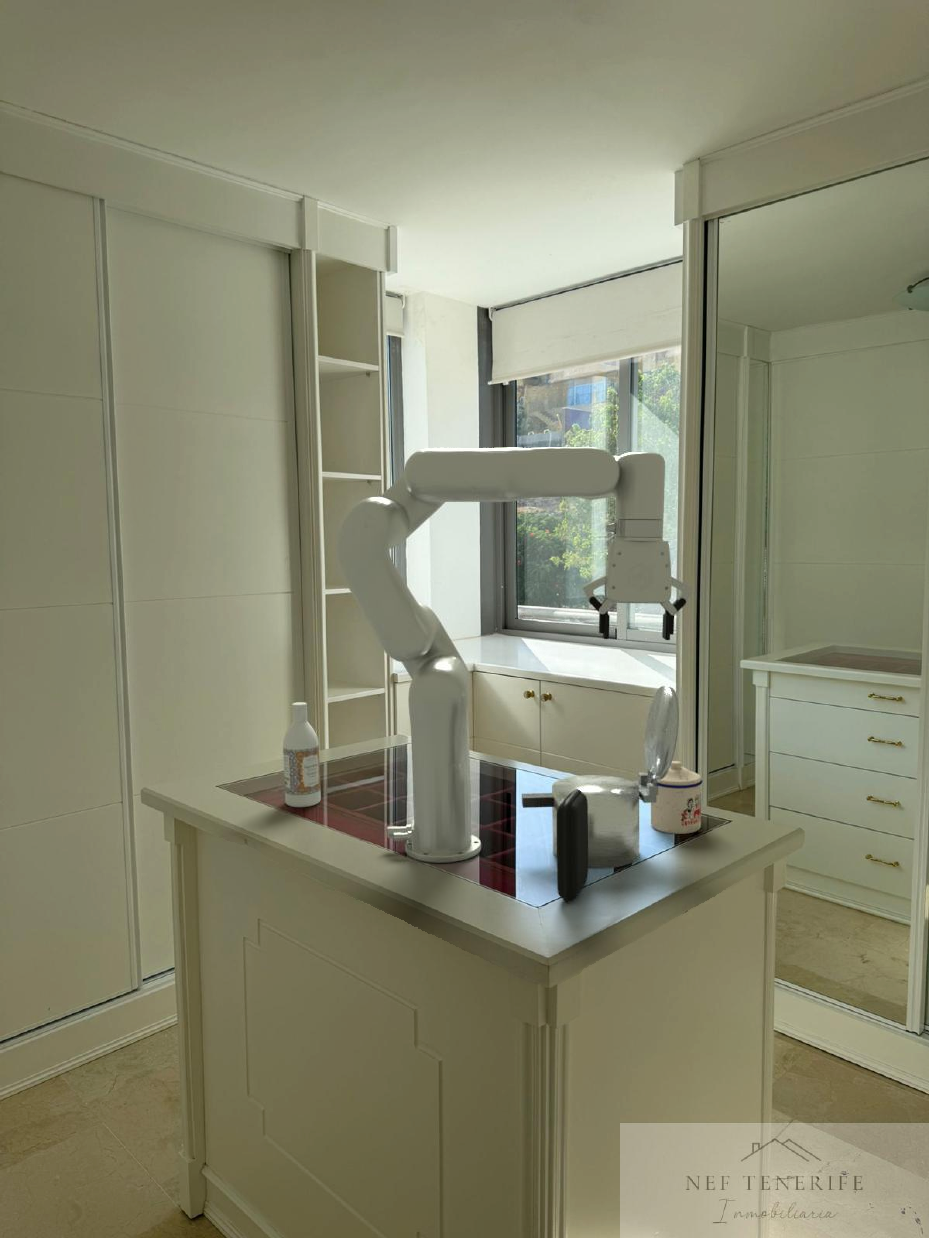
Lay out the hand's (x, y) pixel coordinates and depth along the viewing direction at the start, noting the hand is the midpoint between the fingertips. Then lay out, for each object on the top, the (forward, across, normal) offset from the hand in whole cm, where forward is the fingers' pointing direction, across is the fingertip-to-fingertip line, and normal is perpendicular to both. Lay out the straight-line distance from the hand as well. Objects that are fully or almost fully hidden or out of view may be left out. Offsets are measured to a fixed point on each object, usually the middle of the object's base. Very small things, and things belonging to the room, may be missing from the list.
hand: (635, 638), depth 143 cm
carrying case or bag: (+36, -10, -17) cm, 41 cm away
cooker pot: (+35, -7, -1) cm, 36 cm away
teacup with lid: (+35, +10, +13) cm, 39 cm away
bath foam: (+37, -61, +27) cm, 76 cm away
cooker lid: (+16, +4, 0) cm, 16 cm away
